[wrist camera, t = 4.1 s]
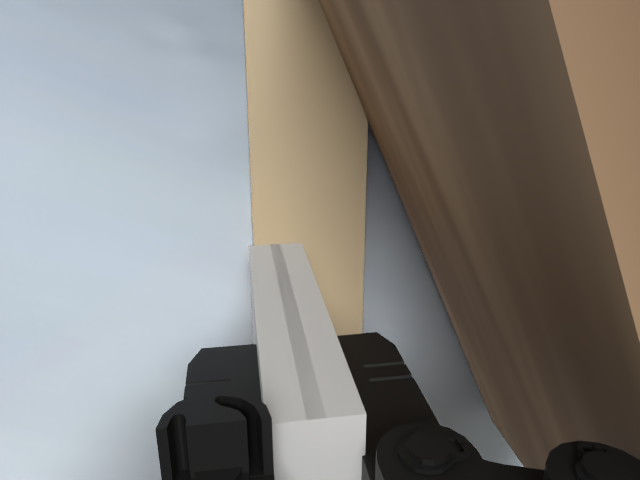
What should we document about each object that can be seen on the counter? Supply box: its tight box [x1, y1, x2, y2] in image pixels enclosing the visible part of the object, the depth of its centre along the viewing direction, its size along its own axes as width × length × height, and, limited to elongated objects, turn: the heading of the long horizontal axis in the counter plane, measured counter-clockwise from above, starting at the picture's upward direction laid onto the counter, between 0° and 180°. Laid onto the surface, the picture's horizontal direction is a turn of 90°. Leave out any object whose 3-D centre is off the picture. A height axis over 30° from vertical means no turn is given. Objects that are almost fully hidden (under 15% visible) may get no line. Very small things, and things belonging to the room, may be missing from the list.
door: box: [319, 0, 640, 470], centre depth 10 cm, size 2×14×10 cm, turn 24°
